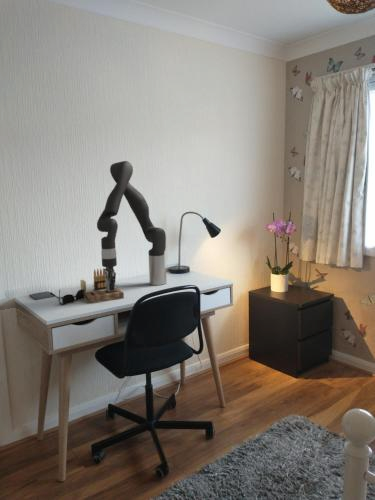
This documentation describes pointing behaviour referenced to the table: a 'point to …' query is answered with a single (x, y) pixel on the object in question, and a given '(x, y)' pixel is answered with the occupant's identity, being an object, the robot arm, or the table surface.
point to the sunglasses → (70, 297)
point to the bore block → (102, 295)
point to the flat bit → (83, 285)
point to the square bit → (109, 286)
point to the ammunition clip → (99, 280)
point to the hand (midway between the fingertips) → (110, 289)
